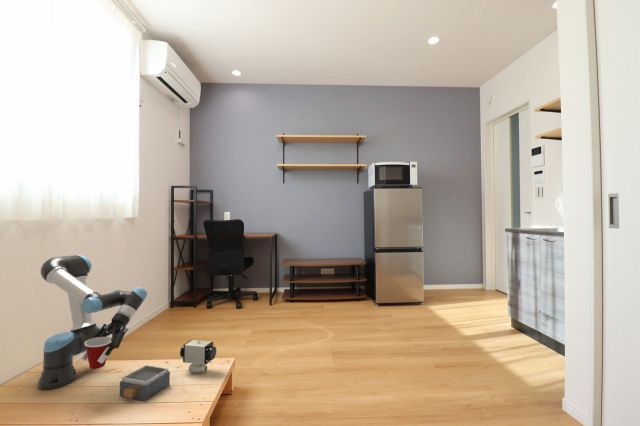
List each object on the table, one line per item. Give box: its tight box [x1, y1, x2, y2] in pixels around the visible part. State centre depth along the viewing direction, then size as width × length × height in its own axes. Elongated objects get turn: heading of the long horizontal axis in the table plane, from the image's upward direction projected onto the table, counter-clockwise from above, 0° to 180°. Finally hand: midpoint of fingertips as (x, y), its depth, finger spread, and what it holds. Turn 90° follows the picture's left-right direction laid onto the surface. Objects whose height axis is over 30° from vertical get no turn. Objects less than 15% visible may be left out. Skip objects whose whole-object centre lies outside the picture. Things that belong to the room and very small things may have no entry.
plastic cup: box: [85, 336, 112, 370], centre depth 145 cm, size 11×11×12 cm
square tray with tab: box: [119, 365, 171, 403], centre depth 150 cm, size 15×17×8 cm
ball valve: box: [179, 339, 217, 375], centre depth 171 cm, size 18×8×18 cm, turn 80°
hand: (91, 360), depth 142 cm, fingers closed on plastic cup, 9 cm apart
